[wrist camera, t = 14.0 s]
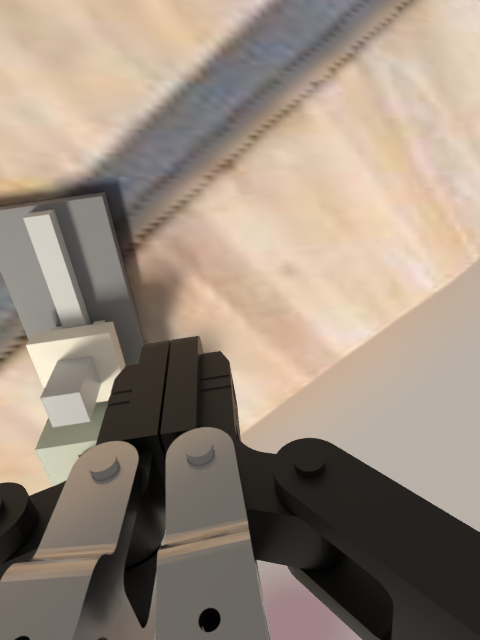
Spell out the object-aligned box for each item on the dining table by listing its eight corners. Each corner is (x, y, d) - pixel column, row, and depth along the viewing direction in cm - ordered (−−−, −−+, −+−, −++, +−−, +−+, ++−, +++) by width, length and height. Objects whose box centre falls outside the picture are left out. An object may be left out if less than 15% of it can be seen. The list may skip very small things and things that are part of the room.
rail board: (105, 191, 37) (98, 200, 35) (153, 375, 47) (150, 393, 44) (-16, 208, 37) (-32, 218, 34) (56, 389, 46) (48, 408, 44)
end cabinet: (157, 378, 47) (151, 432, 40) (168, 421, 50) (165, 478, 43) (58, 393, 47) (35, 449, 40) (75, 435, 50) (56, 495, 43)
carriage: (115, 313, 41) (98, 367, 33) (133, 375, 44) (121, 436, 37) (38, 324, 41) (4, 381, 33) (62, 385, 44) (36, 449, 37)
